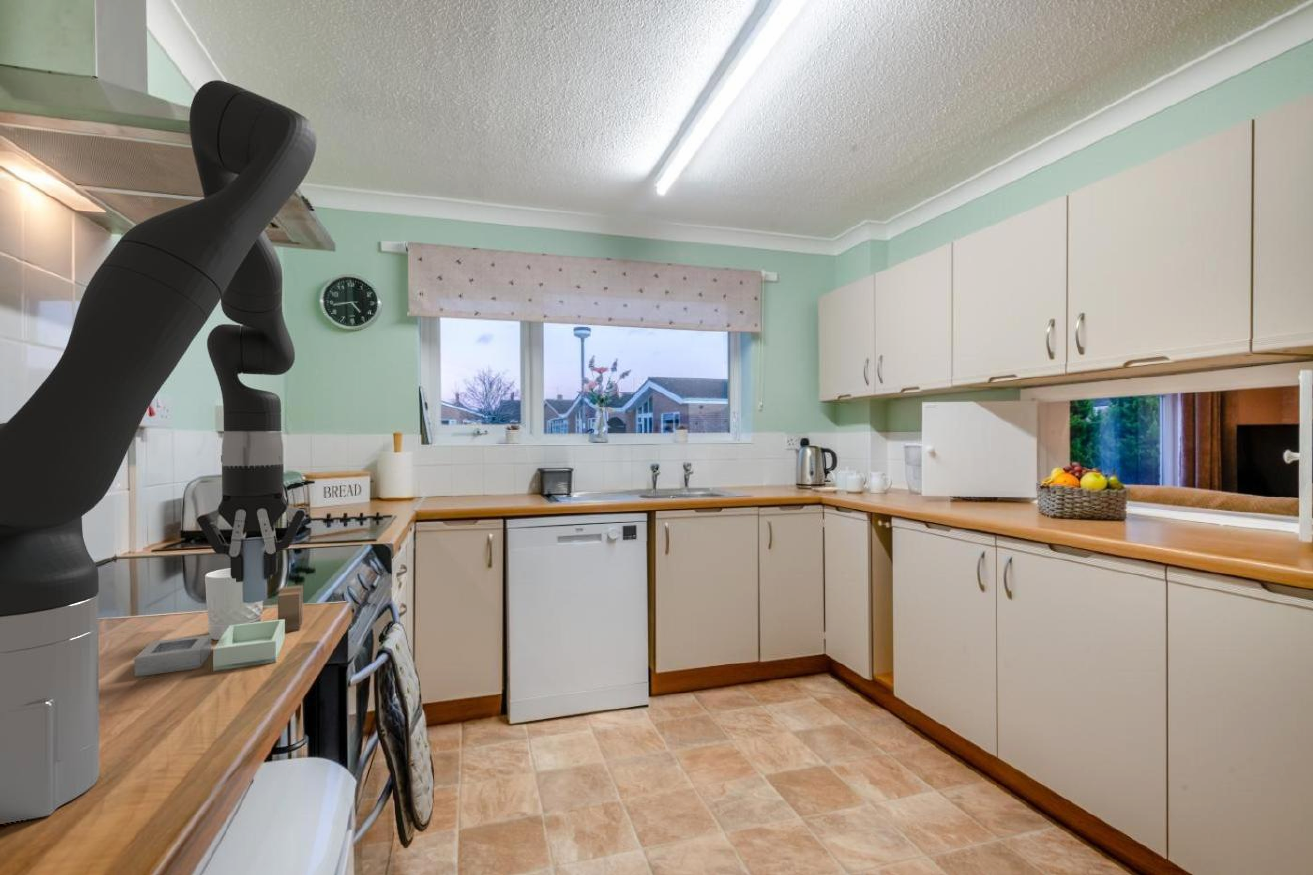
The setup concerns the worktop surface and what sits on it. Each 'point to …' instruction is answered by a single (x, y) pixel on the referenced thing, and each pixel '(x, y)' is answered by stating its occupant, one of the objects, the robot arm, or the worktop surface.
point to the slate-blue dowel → (253, 570)
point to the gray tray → (173, 655)
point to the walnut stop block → (291, 607)
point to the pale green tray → (249, 645)
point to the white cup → (227, 603)
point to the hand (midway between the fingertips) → (254, 579)
